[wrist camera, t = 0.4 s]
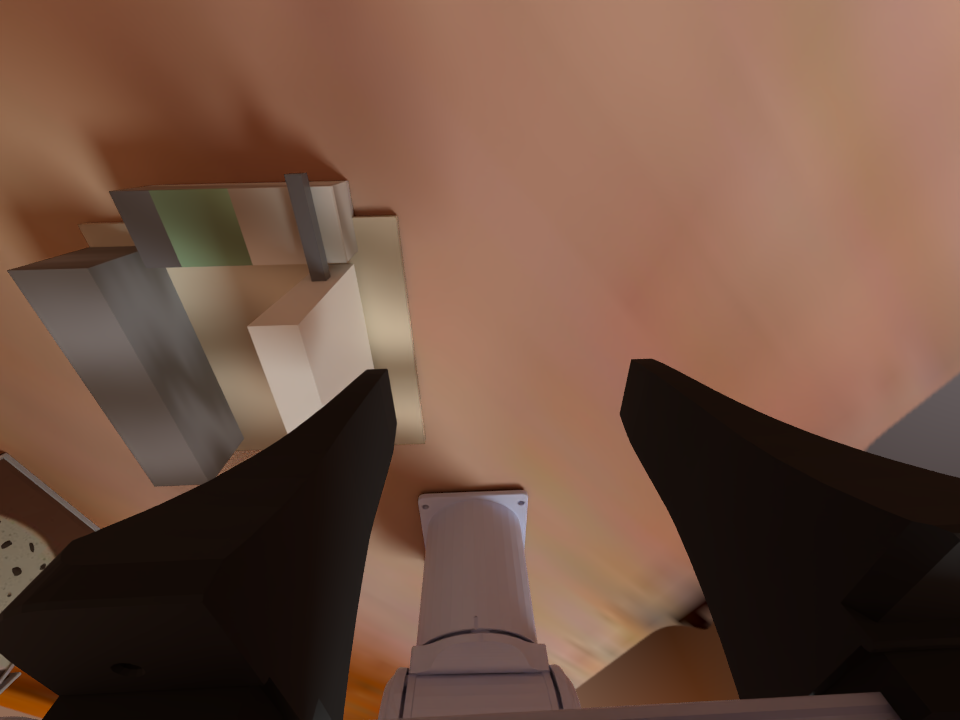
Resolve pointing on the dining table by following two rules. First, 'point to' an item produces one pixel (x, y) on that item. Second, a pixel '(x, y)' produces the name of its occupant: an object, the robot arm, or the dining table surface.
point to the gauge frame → (210, 314)
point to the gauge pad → (312, 325)
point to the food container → (30, 535)
